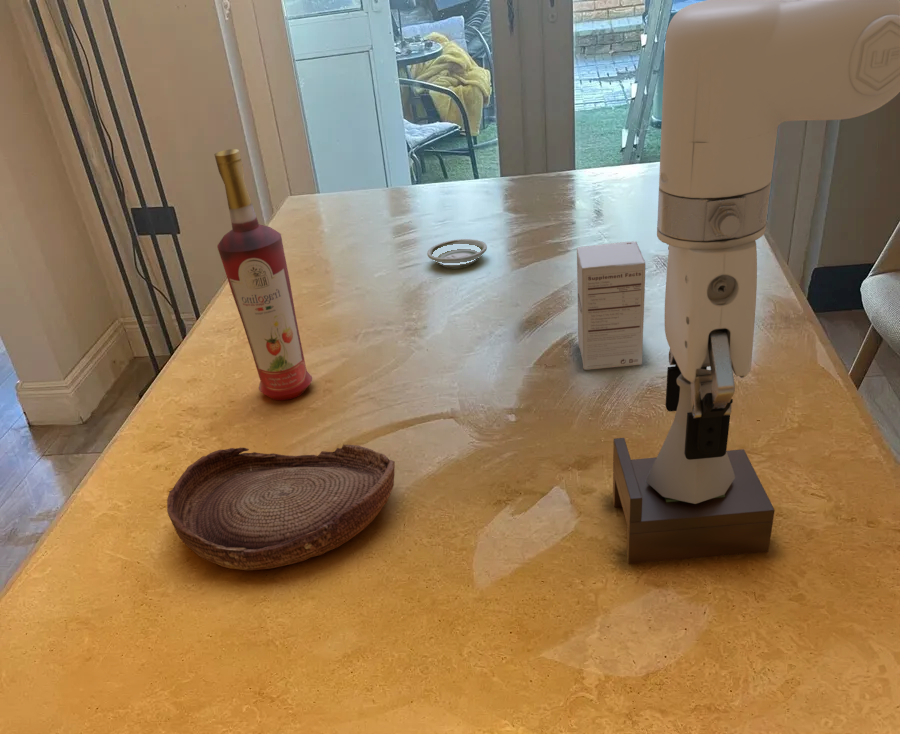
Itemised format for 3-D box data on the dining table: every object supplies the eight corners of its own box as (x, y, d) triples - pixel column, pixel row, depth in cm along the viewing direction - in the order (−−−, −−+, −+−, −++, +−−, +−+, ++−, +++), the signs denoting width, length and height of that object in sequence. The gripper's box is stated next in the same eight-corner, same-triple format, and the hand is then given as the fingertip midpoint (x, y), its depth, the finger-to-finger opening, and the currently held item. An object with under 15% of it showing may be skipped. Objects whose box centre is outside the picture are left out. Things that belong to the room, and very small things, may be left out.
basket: (392, 450, 94) (385, 410, 91) (411, 557, 79) (404, 513, 76) (191, 485, 93) (176, 446, 90) (170, 600, 78) (152, 557, 75)
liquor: (315, 375, 112) (261, 140, 94) (317, 400, 106) (260, 154, 88) (260, 384, 111) (195, 150, 93) (259, 410, 106) (189, 165, 88)
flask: (696, 515, 71) (706, 407, 64) (630, 484, 75) (633, 380, 69) (750, 479, 74) (764, 373, 68) (683, 451, 79) (690, 349, 72)
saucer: (500, 259, 137) (499, 244, 136) (456, 278, 133) (454, 262, 131) (460, 249, 143) (458, 234, 142) (417, 267, 139) (415, 252, 137)
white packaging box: (577, 346, 109) (575, 245, 101) (635, 340, 109) (638, 239, 100) (581, 371, 104) (580, 267, 96) (643, 366, 103) (647, 260, 95)
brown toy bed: (738, 489, 81) (747, 425, 77) (768, 552, 73) (779, 485, 69) (612, 501, 82) (613, 438, 78) (628, 564, 74) (630, 498, 70)
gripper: (804, 245, 53) (768, 483, 65) (735, 172, 66) (715, 380, 78) (683, 258, 54) (668, 492, 65) (638, 184, 67) (632, 389, 78)
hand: (694, 430), depth 71 cm, fingers open, 7 cm apart
